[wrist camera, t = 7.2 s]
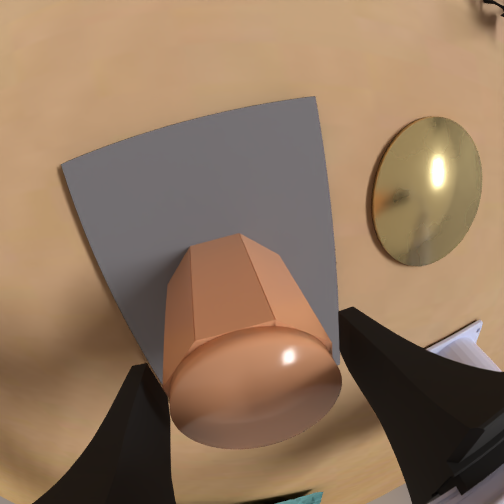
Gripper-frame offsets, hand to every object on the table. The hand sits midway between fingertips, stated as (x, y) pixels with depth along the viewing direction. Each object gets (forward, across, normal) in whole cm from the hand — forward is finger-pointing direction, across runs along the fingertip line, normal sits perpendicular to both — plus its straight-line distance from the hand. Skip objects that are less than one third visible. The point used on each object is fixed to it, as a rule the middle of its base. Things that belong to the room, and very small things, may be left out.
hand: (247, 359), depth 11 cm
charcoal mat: (+5, 0, 0) cm, 5 cm away
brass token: (+5, -12, -2) cm, 14 cm away
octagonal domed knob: (+5, 0, 0) cm, 5 cm away
